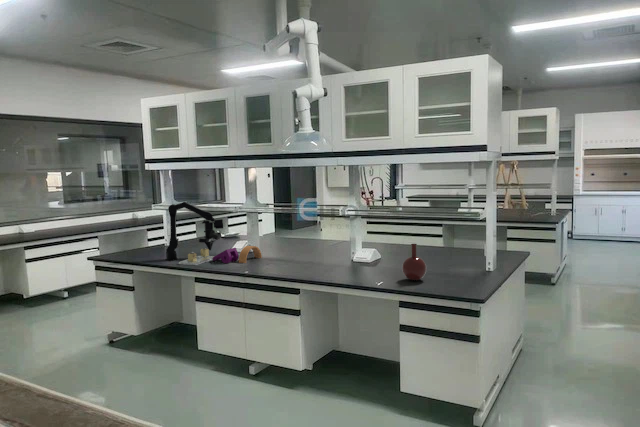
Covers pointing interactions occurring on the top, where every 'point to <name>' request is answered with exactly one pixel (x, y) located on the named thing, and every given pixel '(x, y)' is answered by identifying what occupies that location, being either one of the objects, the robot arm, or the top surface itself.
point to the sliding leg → (204, 252)
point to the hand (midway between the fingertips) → (210, 250)
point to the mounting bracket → (227, 255)
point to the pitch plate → (199, 260)
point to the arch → (245, 252)
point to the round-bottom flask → (414, 266)
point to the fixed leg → (192, 256)
